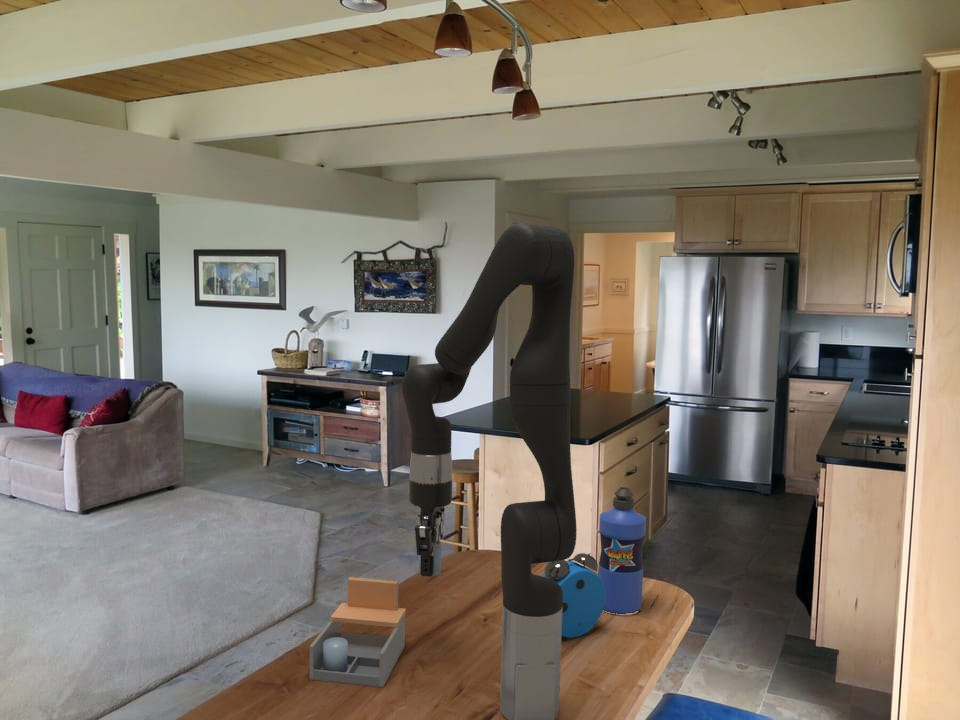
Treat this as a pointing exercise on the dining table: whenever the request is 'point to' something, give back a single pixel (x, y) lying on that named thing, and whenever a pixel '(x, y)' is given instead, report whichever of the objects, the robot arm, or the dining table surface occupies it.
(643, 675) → the dining table surface
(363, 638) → the housing
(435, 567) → the blue-grey rounded cylinder
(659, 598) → the dining table surface
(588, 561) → the alarm clock
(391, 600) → the lid
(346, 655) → the grey rounded cylinder
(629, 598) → the water bottle
